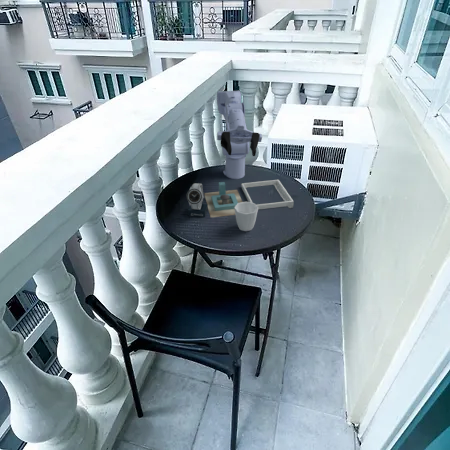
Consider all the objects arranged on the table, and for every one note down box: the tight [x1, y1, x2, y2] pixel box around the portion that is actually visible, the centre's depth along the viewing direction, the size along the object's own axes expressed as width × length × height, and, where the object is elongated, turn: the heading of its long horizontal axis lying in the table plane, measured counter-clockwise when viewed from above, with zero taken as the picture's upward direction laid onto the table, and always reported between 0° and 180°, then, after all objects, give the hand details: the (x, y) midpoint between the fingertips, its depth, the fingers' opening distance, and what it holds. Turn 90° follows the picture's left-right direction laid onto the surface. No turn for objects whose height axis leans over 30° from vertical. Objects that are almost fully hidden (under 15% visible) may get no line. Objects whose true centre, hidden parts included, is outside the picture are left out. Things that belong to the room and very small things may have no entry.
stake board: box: [203, 189, 243, 218], centre depth 111 cm, size 16×12×4 cm
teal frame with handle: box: [211, 181, 238, 211], centre depth 111 cm, size 10×8×5 cm
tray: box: [241, 179, 295, 211], centre depth 115 cm, size 16×14×2 cm
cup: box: [234, 200, 259, 232], centre depth 99 cm, size 7×10×8 cm
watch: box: [186, 183, 209, 218], centre depth 104 cm, size 6×8×11 cm
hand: (242, 153), depth 102 cm, fingers open, 7 cm apart
